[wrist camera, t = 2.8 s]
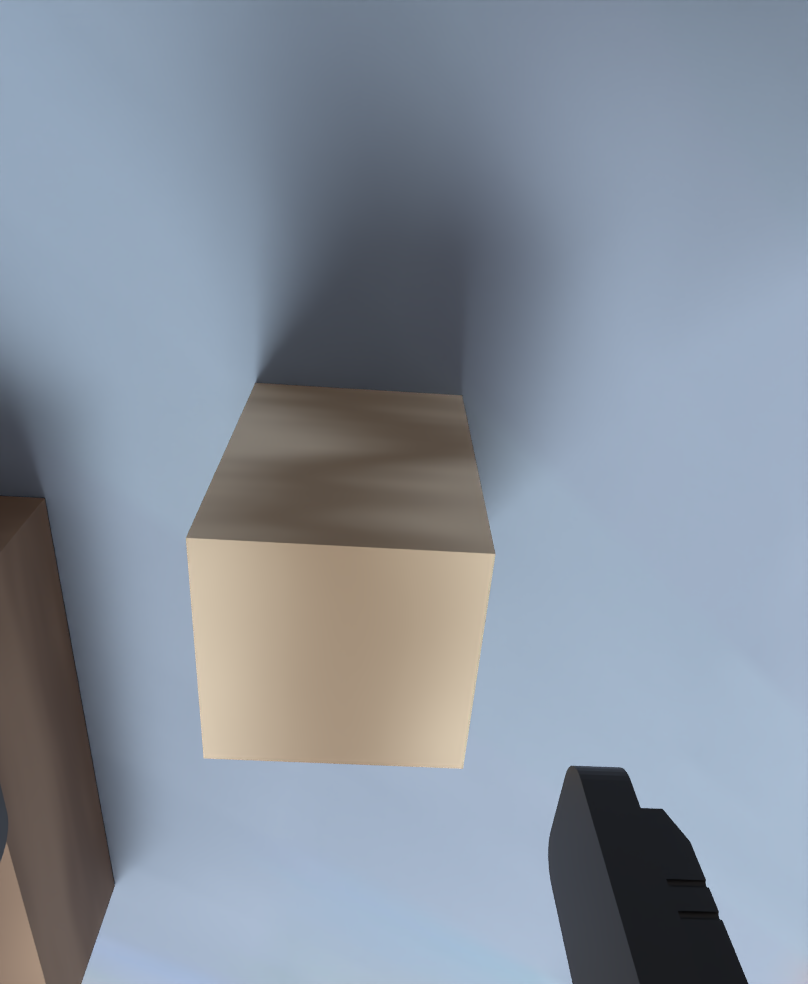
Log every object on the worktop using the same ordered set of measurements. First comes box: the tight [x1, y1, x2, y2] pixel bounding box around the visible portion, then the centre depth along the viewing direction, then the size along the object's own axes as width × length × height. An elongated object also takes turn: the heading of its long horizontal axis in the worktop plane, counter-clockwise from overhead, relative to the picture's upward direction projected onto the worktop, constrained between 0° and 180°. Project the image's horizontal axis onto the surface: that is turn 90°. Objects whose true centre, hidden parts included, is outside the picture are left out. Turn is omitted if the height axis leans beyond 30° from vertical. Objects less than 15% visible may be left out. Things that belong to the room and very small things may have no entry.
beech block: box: [186, 383, 495, 769], centre depth 17 cm, size 5×5×7 cm
